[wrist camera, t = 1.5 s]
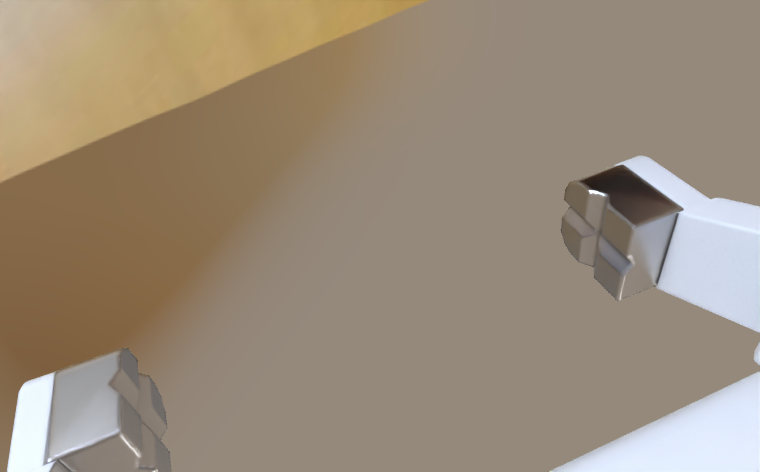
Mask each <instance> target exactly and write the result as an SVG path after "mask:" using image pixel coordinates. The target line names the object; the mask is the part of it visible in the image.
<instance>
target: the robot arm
mask: <svg viewBox="0 0 760 472" xmlns="http://www.w3.org/2000/svg"><path fill="white" fill-rule="evenodd" d="M564 200H565V201H566V202H567V203H568V205H569V206H570V207H569V208H568V210H567V211H566V213H565V214H564V216H563V217H562V226H561V233H562V236H563V239H564V243H565V245H566V247H567V248H568V250H569V252H570V253H571V254H572V255H573V257H574V258H575V259H576V260H577V261H578V262H579V263H582V264H585V265H588V266H592V267H594V278H595V279H596V280H597V281H598V282H599V283H600V284H601V285H602V286H603V287H604V288H605V289H606V290H607V291H608V292H609V293H610V294H611V295H612V296H613V297H614V298H615V299H616V300H617V301H619V300H621V299H624V298H627V297H629V296H631V295H634V294H637V293H639V292H642V291H644V290H647V289H650V288H652V287H655V286H657V288H658V289H660V290H662V291H665V292H667V293H669V294H671V295H674V296H676V297H678V298H681V299H683V300H685V301H688V302H690V303H692V304H695V305H697V306H699V307H701V308H704V309H706V310H709V311H711V312H714V313H716V314H718V315H720V316H723V317H725V318H727V319H730V320H732V321H734V322H736V323H739V324H741V325H743V326H746V327H748V328H750V329H753V330H755V331H757V332H759V333H760V207H759V206H754V205H750V204H746V203H741V202H737V201H732V200H728V199H723V198H719V197H717V198H714V199H711V200H710V199H709V198H707V197H705V196H704V195H703V194H701V193H700V192H698V191H697V190H695V189H694V188H693V187H691V186H689V185H688V184H686V183H685V182H684V181H682V180H681V179H679V178H678V177H676V176H675V175H673V174H672V173H671V172H669V171H668V170H666V169H664V168H663V167H662V166H660V165H659V164H657V163H656V162H654V161H653V160H652V159H650V158H648V157H645V156H637V157H634V158H632V159H629V160H627V161H624V162H621V163H619V164H617V165H615V166H611V167H609V168H606V169H603V170H601V171H598V172H595V173H593V174H590V175H588V176H585V177H582V178H580V179H577V180H574V181H572V182H570V183H569V184H568V186H567V187H566V189H565V197H564ZM754 361H755V362H757V363H758V364H759V365H760V343H759V344H758V346H757V348H756V350H755V352H754ZM166 429H167V420H166V412H165V409H164V405H163V402H162V398H161V395H160V393H159V391H158V389H157V387H156V385H155V383H154V382H153V381H152V379H151V378H150V376H148V375H145V374H141V373H138V360H137V359H136V358H135V356H134V355H133V354H132V353H131V351H130V350H129V349H128V348H121V349H118V350H116V351H112V352H109V353H106V354H104V355H101V356H98V357H95V358H92V359H89V360H86V361H83V362H80V363H78V364H75V365H72V366H69V367H66V368H63V369H60V370H59V371H56V372H53V373H51V374H48V375H45V376H42V377H39V378H36V379H33V380H30V381H27V382H25V383H24V385H23V386H22V388H21V390H20V391H19V395H18V402H17V408H16V415H15V422H14V429H13V435H12V442H11V449H10V455H9V462H8V469H7V472H171V462H170V452H169V451H168V449H167V448H166V447H165V445H164V444H163V443H162V442H161V439H162V437H163V435H164V433H165V431H166ZM549 472H760V371H759V372H757V373H755V374H753V375H751V376H748V377H746V378H744V379H742V380H740V381H738V382H736V383H734V384H732V385H730V386H727V387H726V388H723V389H721V390H719V391H717V392H715V393H713V394H711V395H709V396H707V397H705V398H702V399H700V400H698V401H696V402H694V403H692V404H690V405H688V406H685V407H683V408H681V409H679V410H677V411H675V412H673V413H671V414H669V415H667V416H665V417H662V418H660V419H658V420H656V421H654V422H652V423H650V424H648V425H646V426H643V427H641V428H639V429H637V430H635V431H633V432H631V433H629V434H627V435H625V436H622V437H620V438H619V439H616V440H614V441H612V442H610V443H608V444H606V445H604V446H602V447H600V448H597V449H595V450H593V451H591V452H589V453H587V454H585V455H583V456H581V457H578V458H576V459H575V460H572V461H570V462H568V463H566V464H564V465H562V466H560V467H558V468H555V469H553V470H551V471H549Z"/></svg>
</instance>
